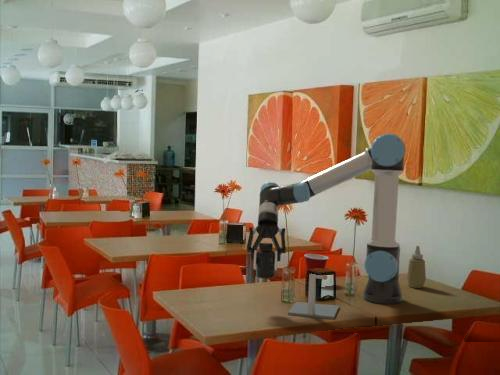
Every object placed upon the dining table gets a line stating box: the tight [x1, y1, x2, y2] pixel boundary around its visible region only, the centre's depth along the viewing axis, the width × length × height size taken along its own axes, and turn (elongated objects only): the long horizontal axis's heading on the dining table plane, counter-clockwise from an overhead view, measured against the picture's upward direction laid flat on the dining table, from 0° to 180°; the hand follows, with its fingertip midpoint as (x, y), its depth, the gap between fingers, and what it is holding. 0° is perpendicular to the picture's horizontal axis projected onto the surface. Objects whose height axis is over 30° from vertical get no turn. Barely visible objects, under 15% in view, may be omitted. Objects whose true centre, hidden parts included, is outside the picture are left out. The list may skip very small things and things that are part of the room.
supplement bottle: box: [255, 242, 276, 280], centre depth 216 cm, size 7×7×12 cm
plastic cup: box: [304, 253, 329, 270], centre depth 265 cm, size 11×11×12 cm
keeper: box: [287, 273, 340, 320], centre depth 216 cm, size 16×16×15 cm
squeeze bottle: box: [406, 245, 427, 289], centre depth 261 cm, size 8×8×18 cm
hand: (265, 267), depth 212 cm, fingers closed on supplement bottle, 7 cm apart
